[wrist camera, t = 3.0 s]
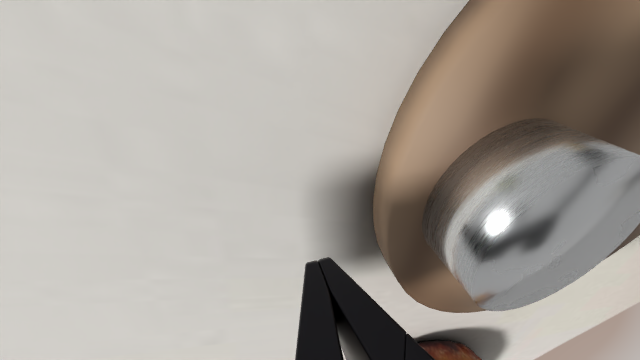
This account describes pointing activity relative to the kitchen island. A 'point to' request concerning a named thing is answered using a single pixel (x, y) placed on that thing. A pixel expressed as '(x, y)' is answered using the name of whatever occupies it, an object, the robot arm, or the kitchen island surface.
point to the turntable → (501, 111)
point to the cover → (531, 211)
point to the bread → (448, 350)
